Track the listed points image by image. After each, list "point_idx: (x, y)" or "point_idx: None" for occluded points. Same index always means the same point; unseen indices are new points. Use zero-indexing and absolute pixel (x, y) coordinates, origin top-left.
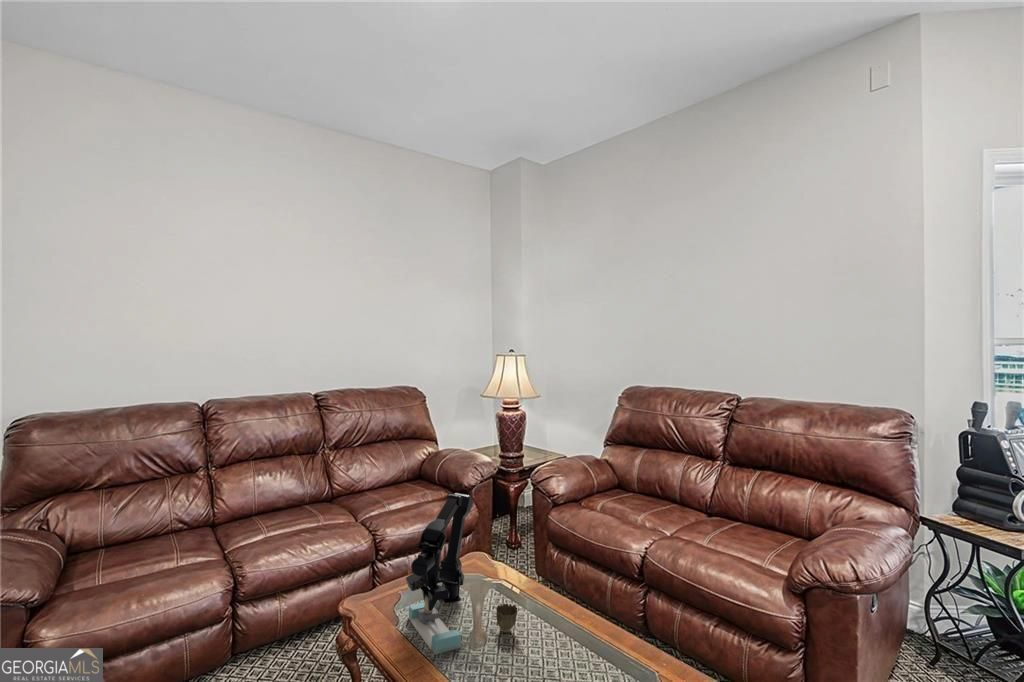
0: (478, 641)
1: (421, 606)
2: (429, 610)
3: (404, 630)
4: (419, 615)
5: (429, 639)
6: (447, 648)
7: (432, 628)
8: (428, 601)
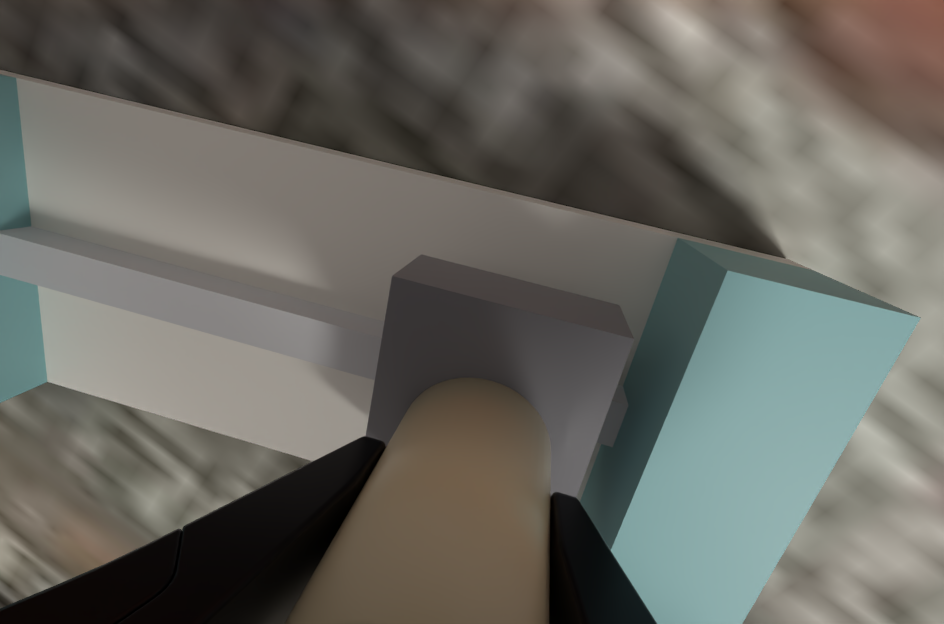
0: (41, 506)
1: (694, 469)
2: (358, 440)
3: (575, 31)
4: (532, 297)
5: (139, 144)
6: None
7: (286, 303)
8: (219, 566)
